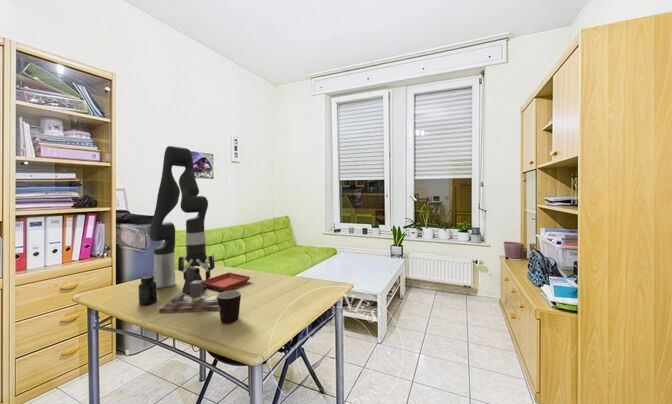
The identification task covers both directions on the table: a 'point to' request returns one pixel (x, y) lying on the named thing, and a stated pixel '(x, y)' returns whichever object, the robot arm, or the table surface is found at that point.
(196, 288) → the leg
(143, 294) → the supplement bottle
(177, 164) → the robot arm
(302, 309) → the table surface
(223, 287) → the plant saucer
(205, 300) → the slider puzzle board
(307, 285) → the table surface
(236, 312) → the coffee mug
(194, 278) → the phone stand
